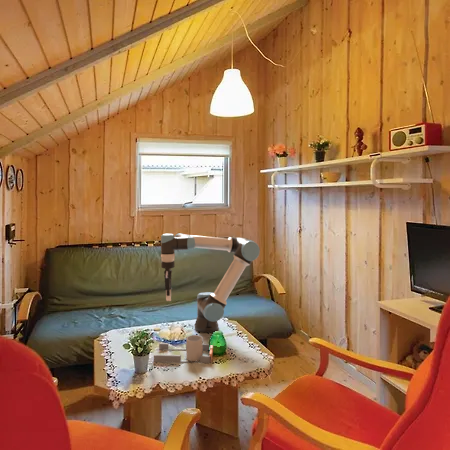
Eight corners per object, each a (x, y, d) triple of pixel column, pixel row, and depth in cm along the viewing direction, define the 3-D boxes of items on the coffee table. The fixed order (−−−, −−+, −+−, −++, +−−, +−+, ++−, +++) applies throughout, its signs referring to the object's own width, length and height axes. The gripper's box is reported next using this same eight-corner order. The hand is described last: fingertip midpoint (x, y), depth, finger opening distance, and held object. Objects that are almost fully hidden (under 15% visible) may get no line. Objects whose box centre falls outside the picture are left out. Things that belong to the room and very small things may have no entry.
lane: (153, 361, 209) (153, 352, 209) (159, 349, 225) (159, 340, 225) (211, 363, 208) (211, 353, 208) (213, 350, 224) (213, 341, 224)
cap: (210, 348, 214) (210, 347, 214) (210, 345, 218) (210, 344, 218) (212, 349, 214) (212, 347, 214) (212, 345, 218) (212, 344, 218)
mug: (204, 360, 212) (204, 340, 210) (188, 362, 209) (188, 342, 208) (198, 351, 223) (198, 332, 222) (183, 353, 220) (183, 333, 219)
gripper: (163, 258, 239) (163, 297, 241) (159, 263, 226) (160, 304, 228) (175, 258, 238) (176, 297, 241) (172, 263, 226) (173, 304, 228)
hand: (168, 300), depth 235 cm, fingers closed
